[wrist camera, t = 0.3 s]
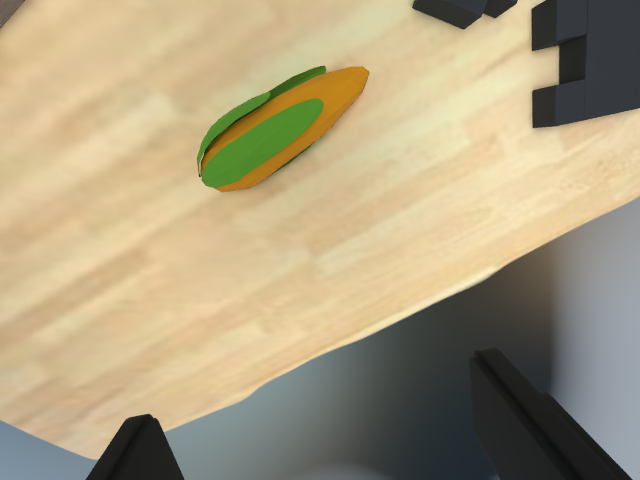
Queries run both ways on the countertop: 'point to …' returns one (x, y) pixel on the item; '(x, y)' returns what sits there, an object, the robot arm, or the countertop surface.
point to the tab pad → (462, 9)
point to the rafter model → (8, 9)
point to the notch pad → (588, 59)
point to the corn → (276, 127)
